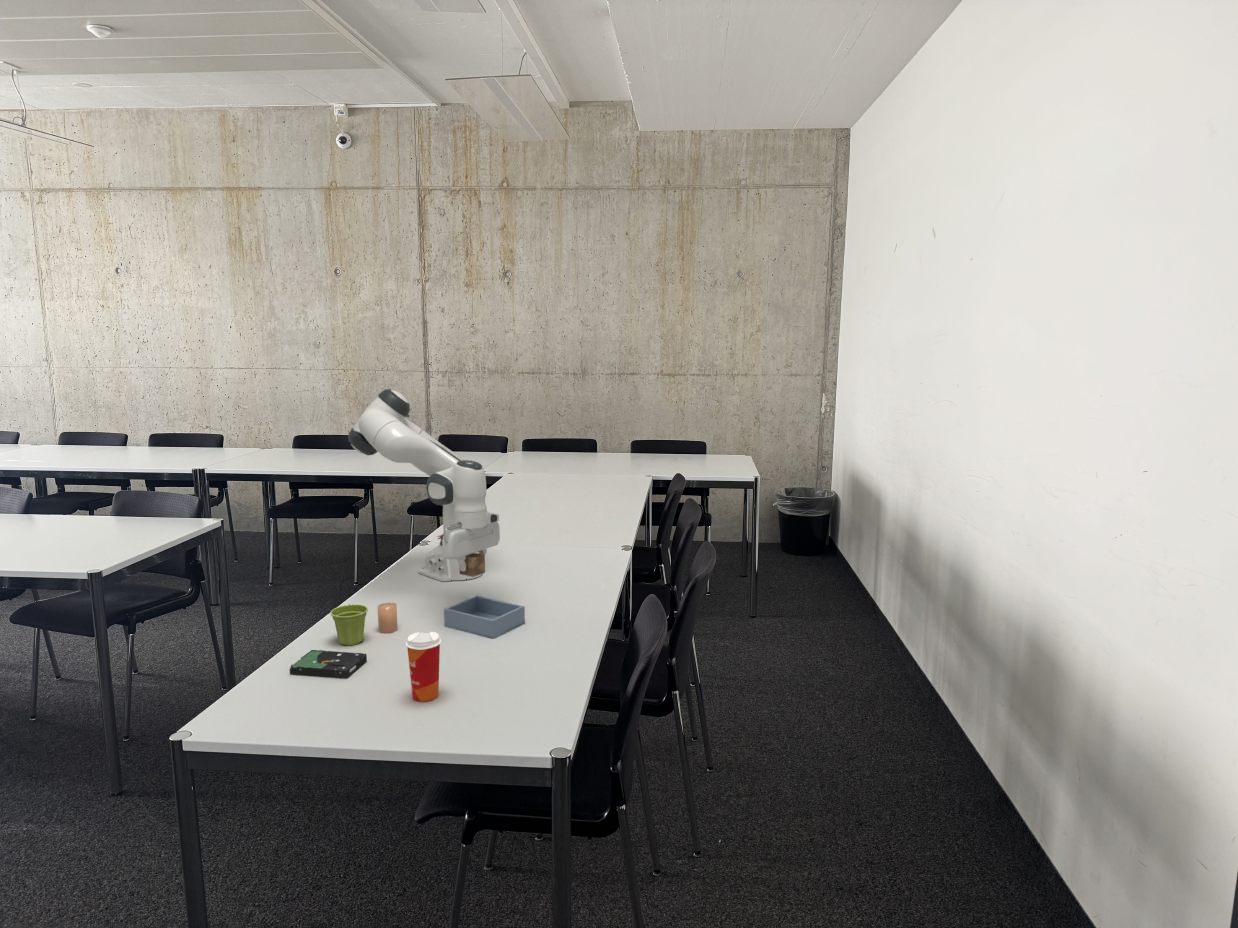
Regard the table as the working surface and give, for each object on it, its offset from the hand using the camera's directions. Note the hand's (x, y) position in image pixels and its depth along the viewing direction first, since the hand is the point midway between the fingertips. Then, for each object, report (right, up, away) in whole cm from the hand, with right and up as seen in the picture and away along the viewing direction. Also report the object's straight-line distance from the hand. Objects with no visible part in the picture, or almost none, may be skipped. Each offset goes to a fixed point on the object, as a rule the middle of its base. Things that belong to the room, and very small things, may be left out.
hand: (472, 567), depth 218 cm
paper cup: (-2, -23, -43) cm, 49 cm away
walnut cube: (0, -2, 0) cm, 2 cm away
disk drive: (-29, -21, -28) cm, 46 cm away
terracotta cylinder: (-22, -17, -4) cm, 28 cm away
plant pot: (-30, -18, -12) cm, 37 cm away
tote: (+4, -16, 0) cm, 16 cm away
